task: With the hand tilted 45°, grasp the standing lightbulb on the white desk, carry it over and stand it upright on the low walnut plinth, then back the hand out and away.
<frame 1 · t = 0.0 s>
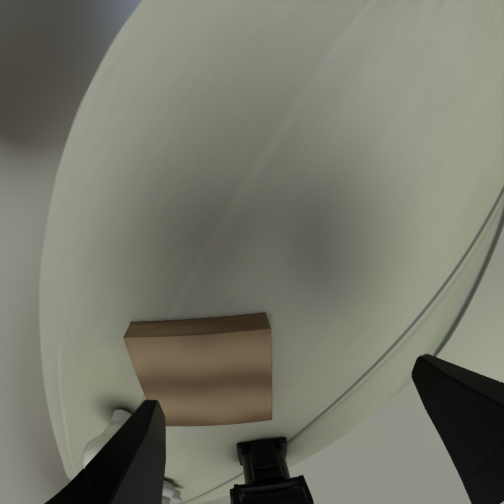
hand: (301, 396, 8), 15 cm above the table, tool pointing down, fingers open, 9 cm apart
walnut plinth: (205, 370, 25), on the table
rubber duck: (164, 480, 32), on the table
lightbulb: (125, 411, 26), on the table
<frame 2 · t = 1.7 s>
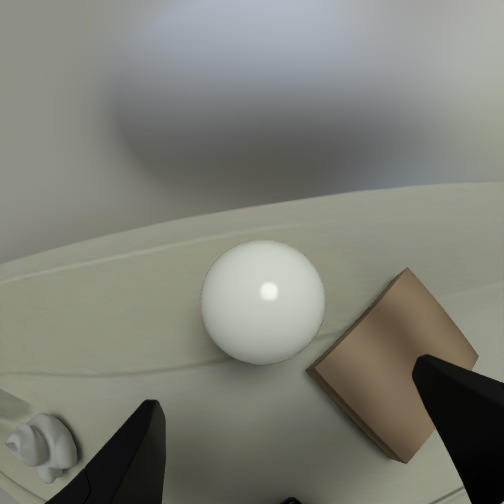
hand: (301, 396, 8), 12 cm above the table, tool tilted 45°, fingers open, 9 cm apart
walnut plinth: (398, 368, 19), on the table
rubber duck: (63, 445, 15), on the table
lightbulb: (254, 331, 21), on the table
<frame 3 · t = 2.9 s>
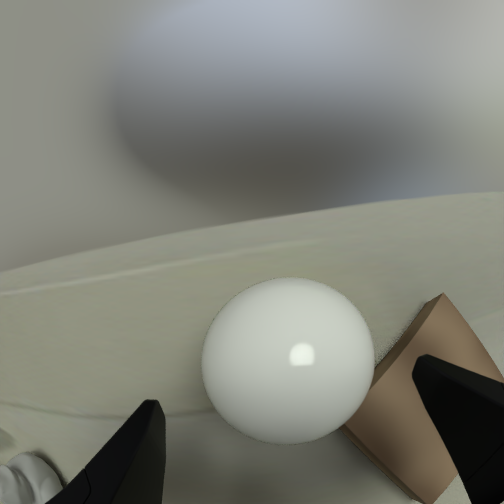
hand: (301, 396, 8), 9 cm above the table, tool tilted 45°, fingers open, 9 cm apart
walnut plinth: (428, 405, 15), on the table
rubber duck: (50, 483, 10), on the table
lightbulb: (267, 372, 17), on the table
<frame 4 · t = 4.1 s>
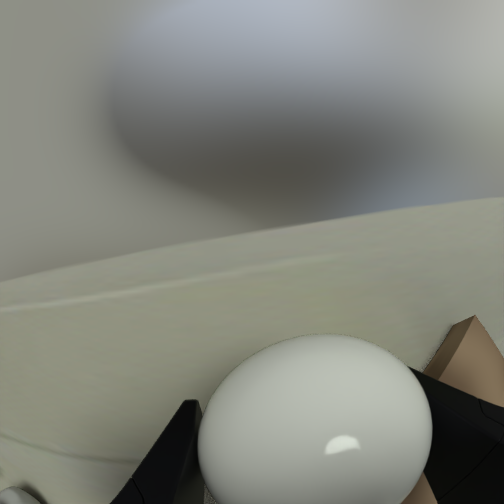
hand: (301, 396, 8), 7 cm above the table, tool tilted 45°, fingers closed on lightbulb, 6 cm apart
walnut plinth: (451, 436, 11), on the table
lightbulb: (277, 415, 13), on the table, touching gripper
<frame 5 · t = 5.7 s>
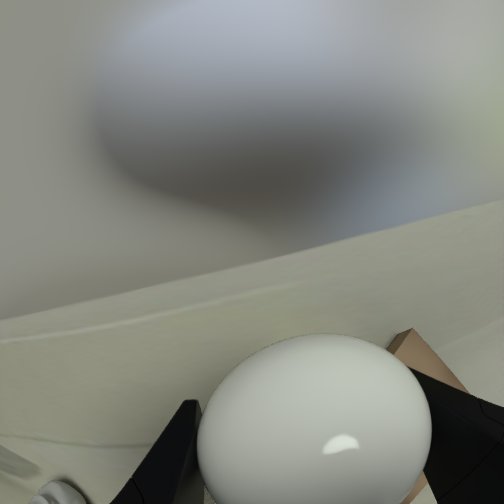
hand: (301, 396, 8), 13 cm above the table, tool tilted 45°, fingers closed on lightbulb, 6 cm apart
walnut plinth: (398, 425, 17), on the table
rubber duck: (76, 503, 12), on the table
lightbulb: (277, 414, 13), point 6 cm above the table, touching gripper
when the fingers open (10 cm above the table, at t = 7.6 s): lightbulb drops 1 cm, resting on walnut plinth.
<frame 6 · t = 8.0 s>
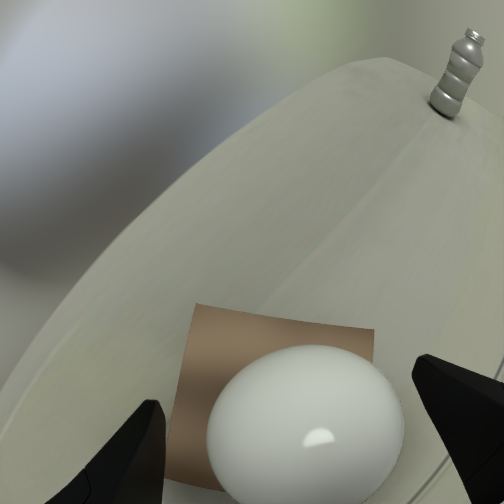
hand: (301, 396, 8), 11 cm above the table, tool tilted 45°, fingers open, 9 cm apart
walnut plinth: (270, 409, 16), on the table
plastic bottle: (440, 111, 38), on the table
lightbulb: (275, 413, 14), point 2 cm above the table, touching walnut plinth
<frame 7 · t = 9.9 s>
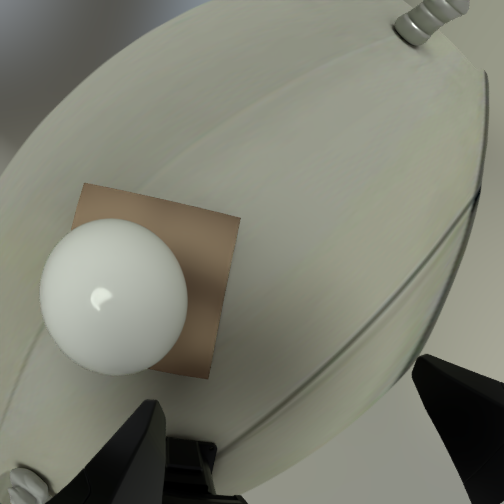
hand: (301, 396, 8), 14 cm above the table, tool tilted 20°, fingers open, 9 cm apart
walnut plinth: (143, 281, 20), on the table
plastic bottle: (403, 36, 32), on the table
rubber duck: (38, 479, 15), on the table
lightbulb: (139, 284, 18), point 2 cm above the table, touching walnut plinth
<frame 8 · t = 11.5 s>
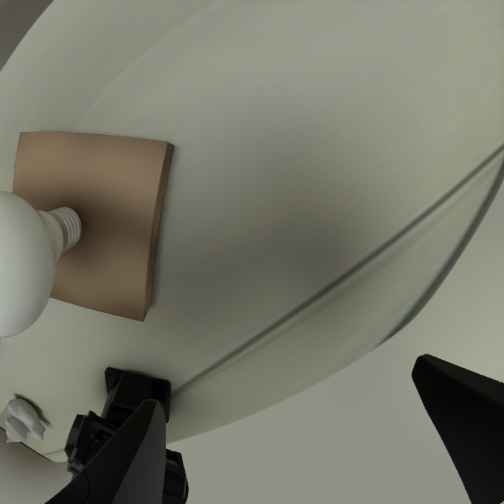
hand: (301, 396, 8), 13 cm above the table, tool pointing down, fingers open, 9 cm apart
walnut plinth: (85, 217, 17), on the table
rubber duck: (32, 407, 23), on the table
lightbulb: (71, 224, 15), point 2 cm above the table, touching walnut plinth
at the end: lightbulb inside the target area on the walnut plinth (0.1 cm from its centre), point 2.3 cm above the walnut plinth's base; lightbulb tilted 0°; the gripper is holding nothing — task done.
